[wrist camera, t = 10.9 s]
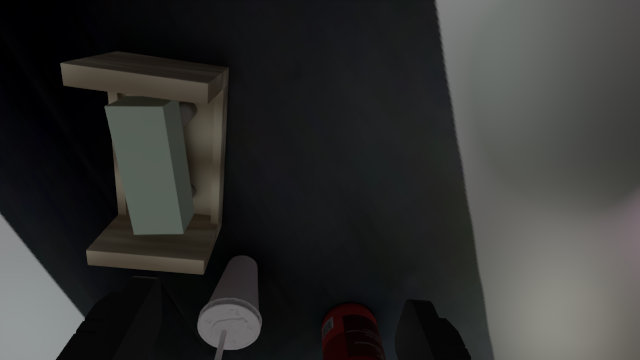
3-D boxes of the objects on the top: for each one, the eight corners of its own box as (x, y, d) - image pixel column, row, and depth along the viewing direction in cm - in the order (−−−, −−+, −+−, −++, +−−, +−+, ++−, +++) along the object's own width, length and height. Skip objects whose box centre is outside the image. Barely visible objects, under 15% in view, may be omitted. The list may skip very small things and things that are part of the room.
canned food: (326, 348, 52) (333, 427, 42) (315, 307, 49) (319, 382, 39) (379, 338, 52) (398, 415, 42) (371, 296, 49) (390, 369, 39)
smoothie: (205, 262, 45) (168, 360, 32) (247, 237, 44) (226, 329, 31) (237, 295, 47) (215, 398, 35) (278, 272, 46) (270, 371, 33)
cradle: (117, 51, 34) (60, 63, 26) (229, 67, 35) (207, 83, 27) (129, 215, 42) (88, 264, 33) (221, 224, 43) (203, 274, 35)
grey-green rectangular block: (126, 95, 32) (104, 106, 29) (177, 96, 33) (162, 106, 29) (150, 213, 37) (134, 234, 34) (194, 212, 38) (183, 233, 34)
